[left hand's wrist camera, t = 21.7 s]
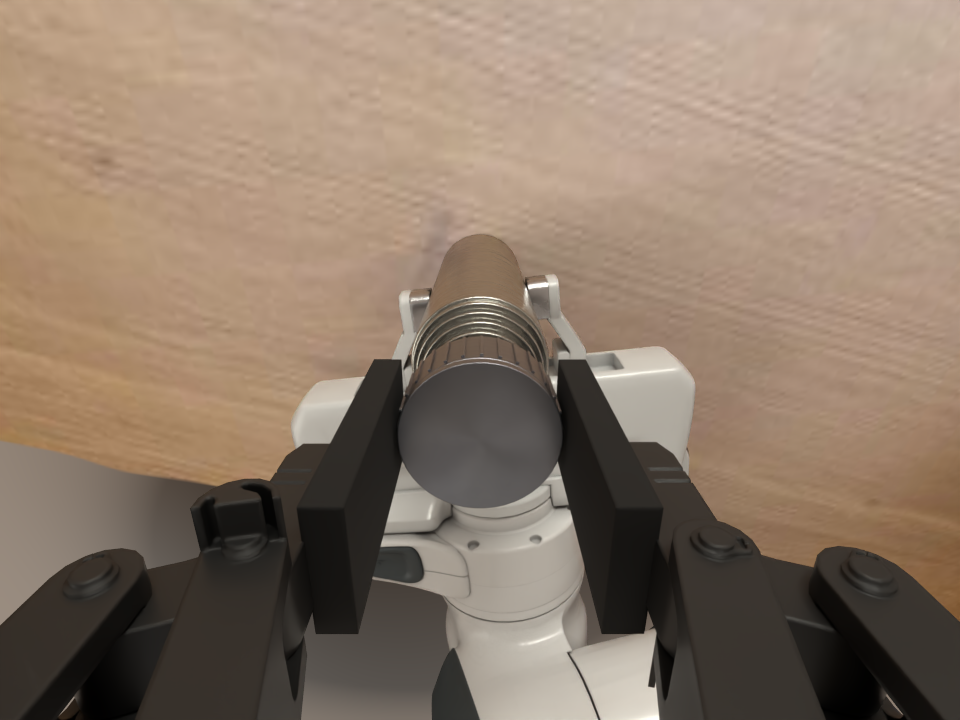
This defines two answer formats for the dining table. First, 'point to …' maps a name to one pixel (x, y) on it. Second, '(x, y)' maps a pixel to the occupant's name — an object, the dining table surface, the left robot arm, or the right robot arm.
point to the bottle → (479, 301)
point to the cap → (480, 423)
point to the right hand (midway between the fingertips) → (476, 284)
